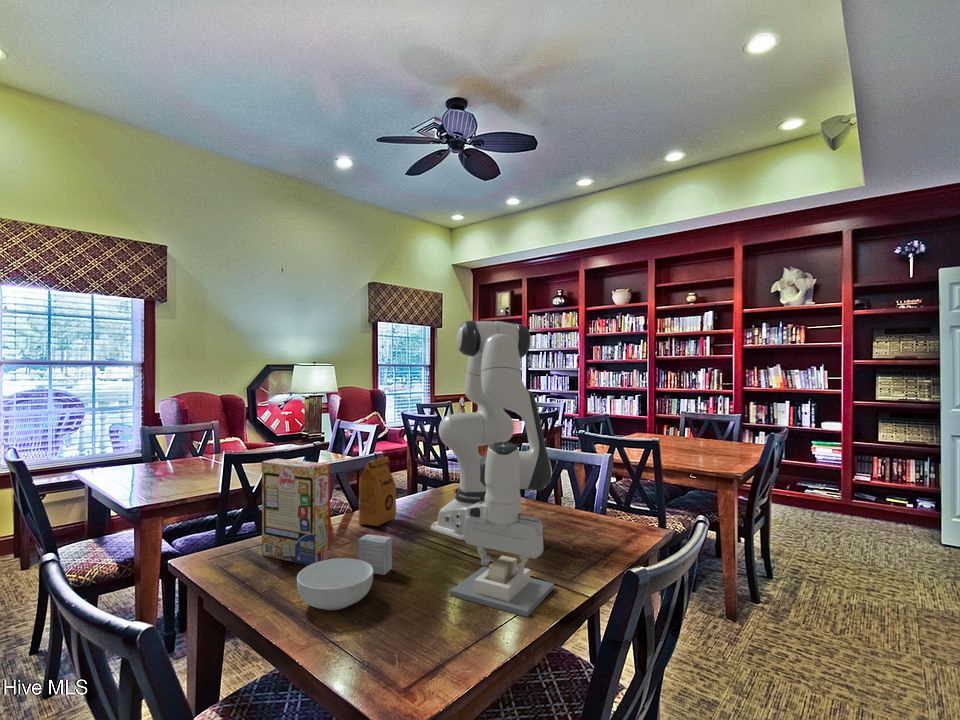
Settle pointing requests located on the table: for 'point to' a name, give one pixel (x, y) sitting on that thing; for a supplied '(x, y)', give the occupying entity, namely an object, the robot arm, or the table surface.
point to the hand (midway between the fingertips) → (502, 568)
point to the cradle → (504, 591)
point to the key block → (503, 569)
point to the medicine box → (376, 552)
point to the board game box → (296, 510)
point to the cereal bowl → (334, 583)
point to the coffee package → (377, 494)
